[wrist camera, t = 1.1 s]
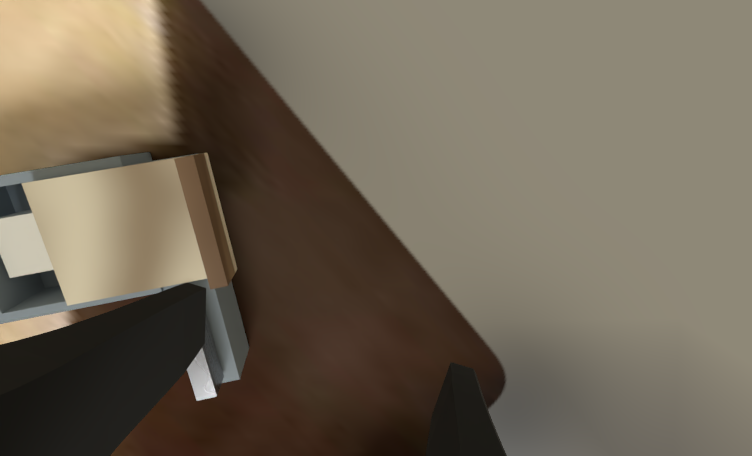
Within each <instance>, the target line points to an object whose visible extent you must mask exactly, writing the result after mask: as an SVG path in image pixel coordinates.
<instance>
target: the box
mask: <svg viewBox="0 0 752 456" xmlns="http://www.w3.org/2000/svg"><path fill="white" fill-rule="evenodd" d="M197 154H198V153H197ZM191 155H196V154H191ZM185 156H190V155H185ZM179 157H184V156H179ZM173 158H178V157H173ZM166 159H172V158H166ZM166 159H160V160H166ZM154 161H159V160H154ZM147 162H153V160H152V157H151V154H150V152H145V153H138V154H131V155H123V156H116V157H110V158H104V159H98V160H92V161H86V162H79V163H73V164H67V165H61V166H55V167H49V168H43V169H36V170H30V171H24V172H18V173H12V174H6V175H0V217H3V216H6V215H10V214H13V213H17V212H21V211H26V210H31V208H30V205H29V202H28V200H27V197H26V194H25V192H24V189H23V186H22V184H21V183H27V182H32V181H38V180H44V179H51V178H57V177H63V176H69V175H75V174H81V173H87V172H93V171H99V170H105V169H111V168H117V167H123V166H129V165H135V164H141V163H147ZM188 283H191V284H194V285H198V286H201V287H204V288H206V315H207V318H208V322H209V325H210V329H211V332H212V336H213V339H214V343H215V346H216V350H217V353H218V357H219V360H220V364H221V367H222V371H223V374H224V378H223V381H222V383H225V382H229V381H234V380H238V379H240V377H241V373H242V370H243V367H244V363H245V360H246V357H247V353H248V350H249V345H248V341H247V338H246V334H245V330H244V326H243V322H242V319H241V315H240V311H239V307H238V303H237V300H236V296H235V292H234V288H233V284H232V281H231V282H230V283H229V285H228V286H226V287H221V288H216V289H211V290H210V287H209V283H208V279H202V280H197V281H192V282H188ZM182 284H184V283H182ZM178 285H181V284H176V285H171V286H166V287H161V288H156V289H151V290H146V291H141V292H135V293H130V294H125V295H120V296H115V297H110V298H105V299H100V300H94V301H89V302H84V303H79V304H74V305H69V306H67V303H66V301H65V298H64V296H63V293H62V290H61V288H60V285H59V282H58V280H57V277H56V274H55V272H54V270H50V271H45V272H39V273H34V274H29V275H23V276H18V277H13V278H10V277H9V275H8V272H7V270H6V267H5V265H4V263H3V260H2V258H1V255H0V324H3V323H8V322H13V321H18V320H23V319H28V318H33V317H38V316H43V315H48V314H53V313H59V312H64V311H69V310H74V309H79V308H84V307H89V306H94V305H99V304H104V303H110V302H115V301H120V300H125V299H130V298H135V297H140V296H145V295H150V294H155V293H159V292H162V291H163V290H167V289H170V288H172V287H175V286H178Z"/></svg>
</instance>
